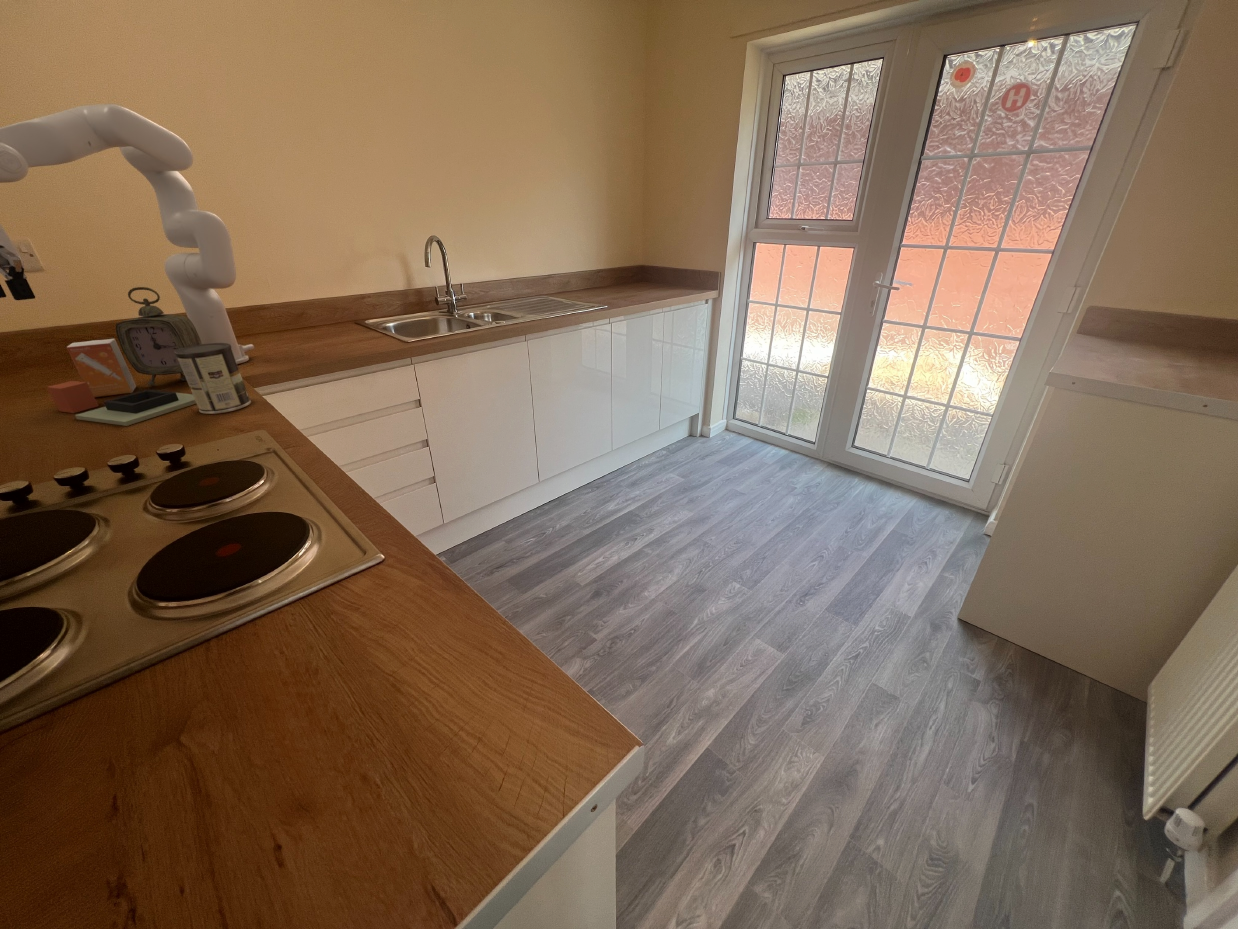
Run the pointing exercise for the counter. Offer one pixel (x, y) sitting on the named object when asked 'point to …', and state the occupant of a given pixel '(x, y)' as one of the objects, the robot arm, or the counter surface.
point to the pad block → (72, 396)
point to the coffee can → (213, 377)
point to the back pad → (138, 407)
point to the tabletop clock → (155, 339)
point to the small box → (102, 367)
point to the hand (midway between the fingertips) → (11, 298)
